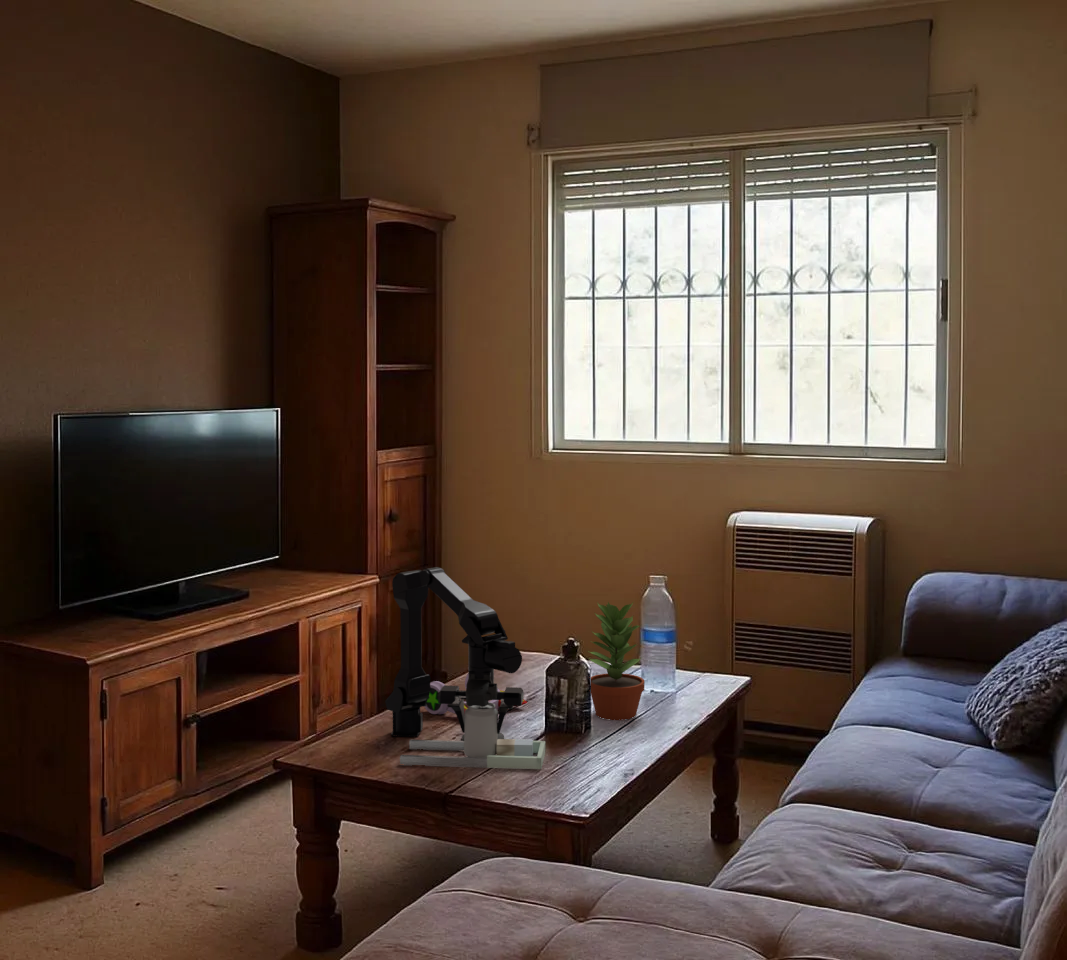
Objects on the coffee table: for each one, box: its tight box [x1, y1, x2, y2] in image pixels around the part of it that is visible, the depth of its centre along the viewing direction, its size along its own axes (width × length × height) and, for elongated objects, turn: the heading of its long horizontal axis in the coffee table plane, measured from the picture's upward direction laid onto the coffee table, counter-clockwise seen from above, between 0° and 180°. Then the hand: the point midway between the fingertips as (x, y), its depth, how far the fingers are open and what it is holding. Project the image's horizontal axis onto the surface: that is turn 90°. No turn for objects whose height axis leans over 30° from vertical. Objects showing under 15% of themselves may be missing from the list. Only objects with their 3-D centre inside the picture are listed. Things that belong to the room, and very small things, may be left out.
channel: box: [399, 739, 487, 769], centre depth 268 cm, size 20×12×2 cm, turn 85°
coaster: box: [461, 732, 505, 741], centre depth 281 cm, size 10×10×1 cm
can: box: [463, 701, 499, 757], centre depth 267 cm, size 8×8×12 cm
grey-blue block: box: [514, 738, 534, 756], centre depth 267 cm, size 4×4×4 cm
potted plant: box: [587, 601, 645, 721], centre depth 300 cm, size 15×15×30 cm
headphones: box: [424, 673, 528, 715], centre depth 305 cm, size 20×10×20 cm
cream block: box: [496, 738, 516, 756], centre depth 267 cm, size 4×4×4 cm
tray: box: [487, 740, 546, 770], centre depth 267 cm, size 12×12×2 cm
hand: (481, 732), depth 267 cm, fingers closed on can, 7 cm apart
